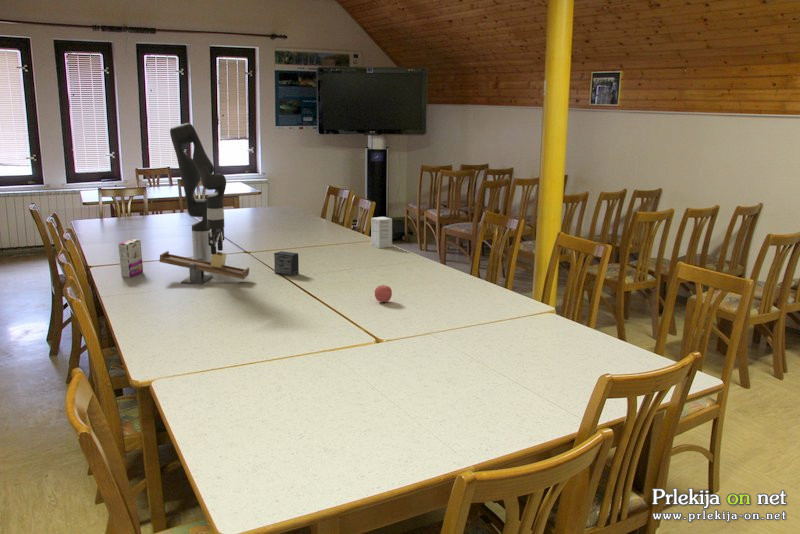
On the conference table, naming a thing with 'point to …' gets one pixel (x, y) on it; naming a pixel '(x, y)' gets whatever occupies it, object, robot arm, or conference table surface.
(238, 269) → the beam
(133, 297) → the conference table surface
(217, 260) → the wooden block
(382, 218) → the supplement box
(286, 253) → the small box
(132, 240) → the candy bar box
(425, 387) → the conference table surface
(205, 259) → the robot arm
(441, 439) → the conference table surface
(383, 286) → the apple
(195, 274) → the pivot stand
